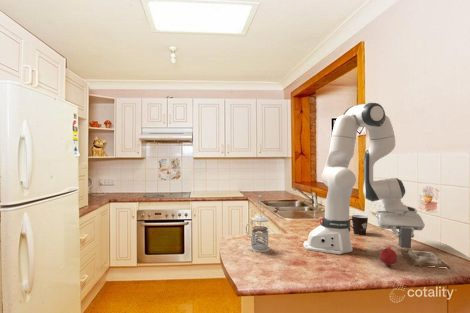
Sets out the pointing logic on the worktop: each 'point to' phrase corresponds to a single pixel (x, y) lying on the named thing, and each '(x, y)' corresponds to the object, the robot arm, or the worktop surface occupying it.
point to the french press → (259, 234)
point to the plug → (405, 237)
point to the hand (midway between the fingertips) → (405, 236)
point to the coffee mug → (359, 224)
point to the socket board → (424, 259)
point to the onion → (388, 256)
